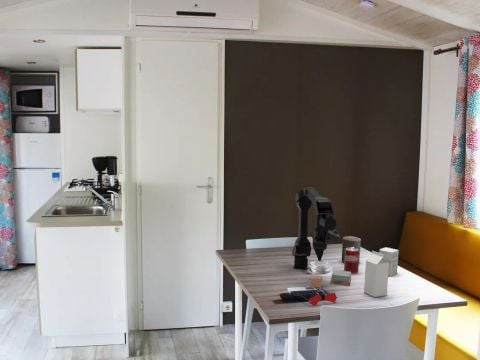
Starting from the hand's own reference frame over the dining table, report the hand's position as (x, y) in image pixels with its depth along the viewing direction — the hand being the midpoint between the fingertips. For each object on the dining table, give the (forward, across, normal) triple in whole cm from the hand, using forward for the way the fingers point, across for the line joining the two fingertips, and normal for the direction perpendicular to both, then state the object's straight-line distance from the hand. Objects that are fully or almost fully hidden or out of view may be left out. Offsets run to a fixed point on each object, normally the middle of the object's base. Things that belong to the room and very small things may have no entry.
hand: (320, 258), depth 234 cm
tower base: (+13, +6, -10) cm, 17 cm away
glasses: (+13, -20, +1) cm, 24 cm away
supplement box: (+13, +27, -32) cm, 44 cm away
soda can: (+12, +24, -14) cm, 31 cm away
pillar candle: (+12, +41, -13) cm, 45 cm away
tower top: (+10, +6, -10) cm, 16 cm away
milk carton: (+13, -6, -25) cm, 29 cm away
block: (+13, -2, +2) cm, 13 cm away
